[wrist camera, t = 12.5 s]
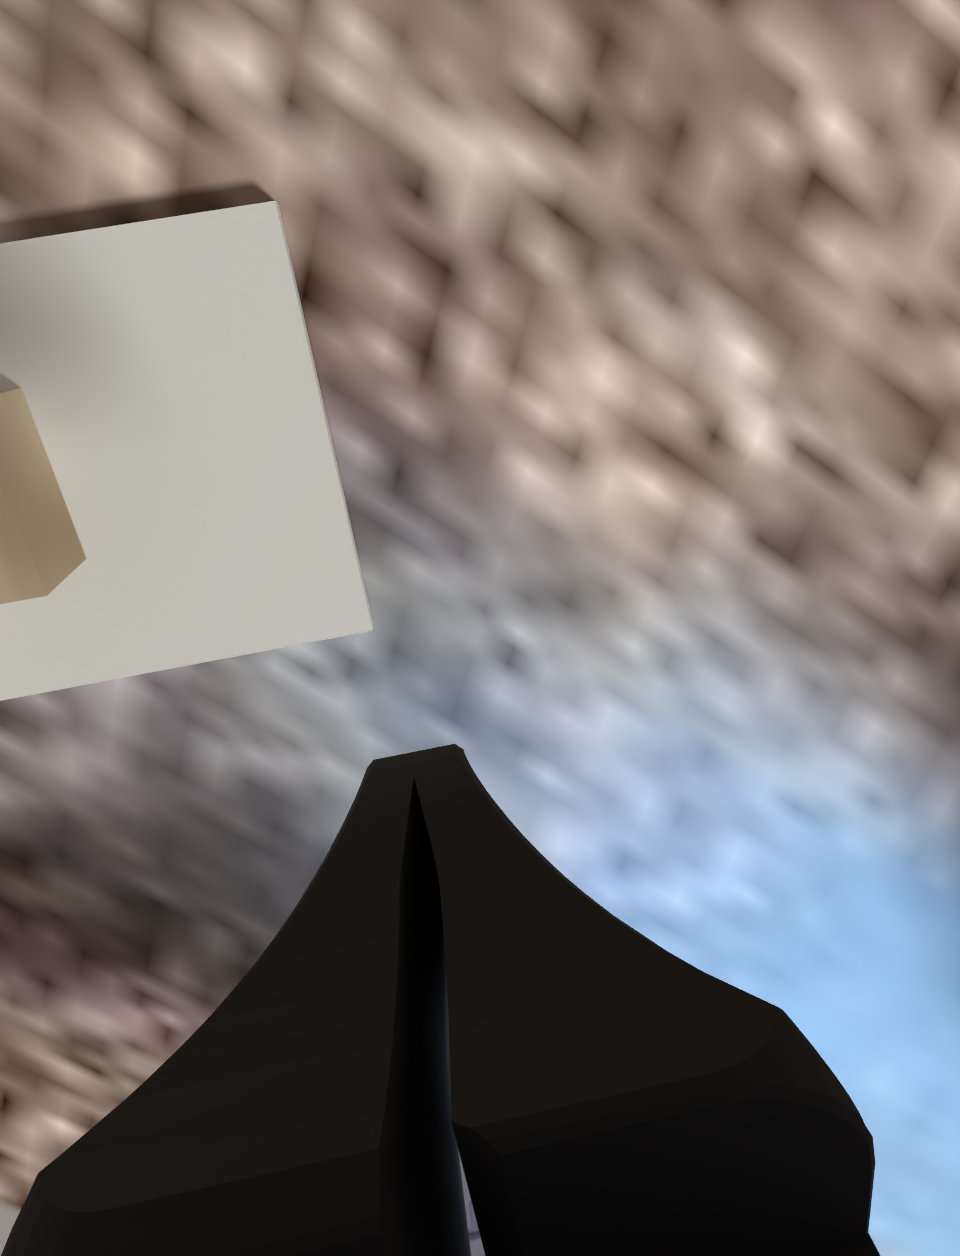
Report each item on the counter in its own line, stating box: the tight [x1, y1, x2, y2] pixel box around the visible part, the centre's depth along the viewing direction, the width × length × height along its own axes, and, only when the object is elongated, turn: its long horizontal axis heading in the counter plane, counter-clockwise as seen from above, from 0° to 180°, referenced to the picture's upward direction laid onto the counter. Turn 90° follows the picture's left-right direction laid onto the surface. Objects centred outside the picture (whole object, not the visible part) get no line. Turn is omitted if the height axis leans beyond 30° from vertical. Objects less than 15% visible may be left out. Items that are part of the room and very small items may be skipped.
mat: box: [0, 201, 373, 701], centre depth 18 cm, size 10×14×1 cm
